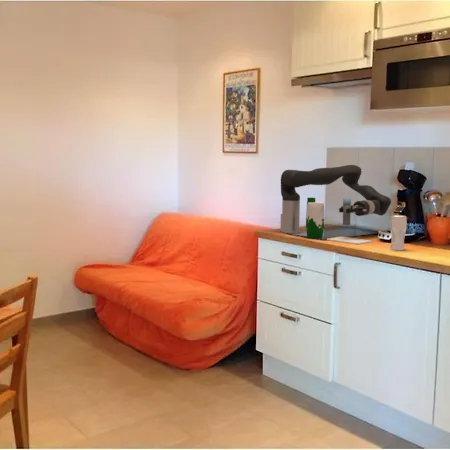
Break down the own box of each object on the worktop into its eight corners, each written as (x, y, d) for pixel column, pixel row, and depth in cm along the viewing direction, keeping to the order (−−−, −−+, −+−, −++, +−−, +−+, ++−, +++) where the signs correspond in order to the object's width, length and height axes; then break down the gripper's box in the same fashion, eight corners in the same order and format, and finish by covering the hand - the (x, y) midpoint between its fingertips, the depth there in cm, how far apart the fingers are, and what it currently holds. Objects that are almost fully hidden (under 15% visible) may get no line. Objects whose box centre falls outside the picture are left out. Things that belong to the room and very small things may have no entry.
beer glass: (390, 247, 262) (391, 214, 260) (406, 248, 260) (407, 215, 258) (388, 250, 256) (389, 216, 254) (404, 251, 253) (406, 217, 251)
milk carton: (305, 236, 296) (306, 197, 293) (323, 236, 295) (324, 197, 292) (306, 238, 287) (307, 198, 284) (324, 238, 286) (325, 198, 284)
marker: (340, 224, 282) (341, 198, 281) (345, 223, 285) (346, 198, 283) (347, 225, 280) (348, 199, 278) (352, 224, 282) (352, 198, 280)
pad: (326, 240, 283) (326, 238, 283) (341, 237, 291) (341, 236, 291) (357, 244, 270) (357, 243, 270) (372, 241, 278) (372, 240, 278)
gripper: (352, 199, 295) (331, 201, 284) (376, 201, 285) (355, 203, 274) (352, 214, 297) (331, 217, 285) (375, 216, 286) (355, 219, 275)
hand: (343, 210), depth 279 cm, fingers closed on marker, 3 cm apart
